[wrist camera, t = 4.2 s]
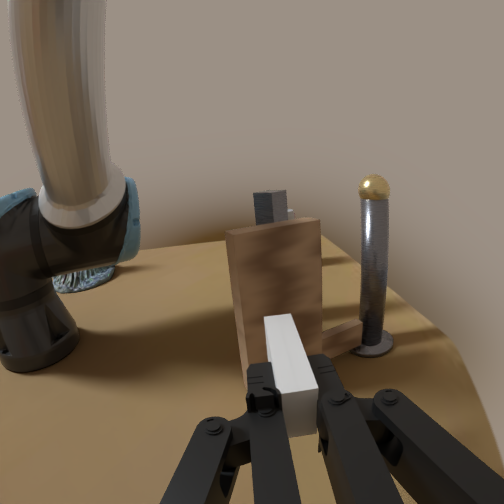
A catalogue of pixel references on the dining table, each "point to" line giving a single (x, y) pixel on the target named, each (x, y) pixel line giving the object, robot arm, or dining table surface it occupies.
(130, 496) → the dining table surface
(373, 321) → the hinge post
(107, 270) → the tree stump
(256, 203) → the dark grey bar
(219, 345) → the dining table surface
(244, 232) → the gate
